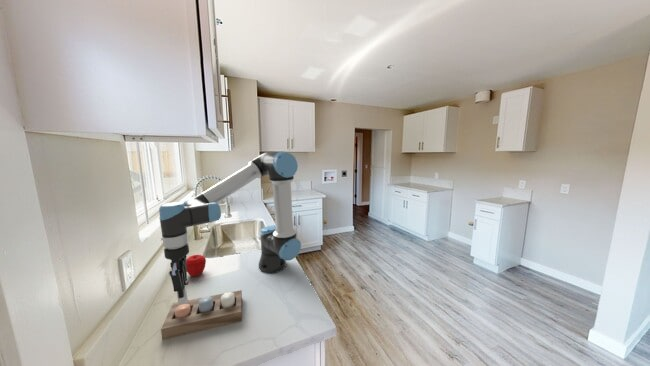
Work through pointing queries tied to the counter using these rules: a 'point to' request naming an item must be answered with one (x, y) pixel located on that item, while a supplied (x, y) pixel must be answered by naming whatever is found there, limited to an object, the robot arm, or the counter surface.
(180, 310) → the button terracotta
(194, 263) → the apple
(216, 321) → the console
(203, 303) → the button slate
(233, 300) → the button cream
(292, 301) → the counter surface
